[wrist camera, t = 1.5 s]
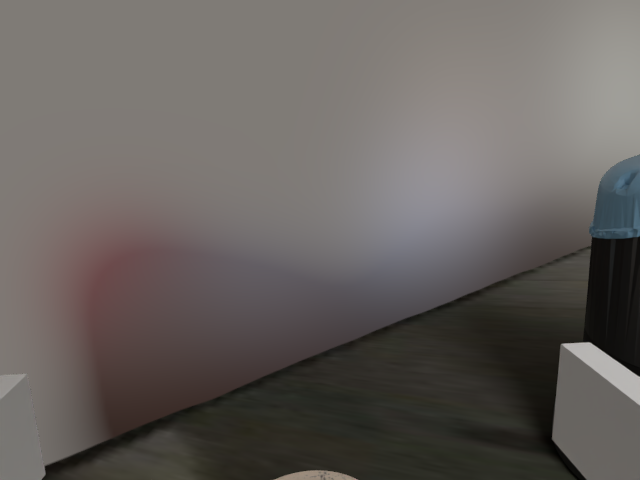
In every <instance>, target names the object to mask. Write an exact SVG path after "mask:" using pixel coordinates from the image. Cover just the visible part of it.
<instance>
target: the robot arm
mask: <svg viewBox="0 0 640 480" xmlns="http://www.w3.org/2000/svg"><path fill="white" fill-rule="evenodd" d="M589 233H590V234H591V236H592V244H591V256H590V268H589V280H588V293H587V305H586V315H585V327H584V337H583V343H569V344H561V348H560V359H559V370H558V380H557V391H556V399H555V402H554V406H553V416H552V440H553V442H554V445H555V448H556V450H557V452H558V454H559V455H560V457H561V459H562V460H563V461H564V463H565V464H566V465H567V467H568V468H569V469H570V470H571V471H572V472H573V473H574V474H575V475H576V476H577V477H578V478H579V479H580V480H640V155H637V156H634V157H631V158H628V159H626V160H623V161H621V162H619V163H617V164H616V165H614V166H613V167H611V168H610V169H609V170H608V171H607V172H606V173H605V175H604V176H603V177H602V179H601V181H600V184H599V188H598V194H597V200H596V207H595V213H594V219H593V222H592V223H591V225H590V229H589ZM44 475H45V468H44V463H43V457H42V451H41V446H40V440H39V434H38V429H37V423H36V417H35V413H34V406H33V401H32V395H31V389H30V384H29V378H28V374H14V375H0V480H42V478H43V477H44Z"/></svg>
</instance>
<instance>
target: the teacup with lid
mask: <svg viewBox="0 0 640 480" xmlns="http://www.w3.org/2000/svg"><path fill="white" fill-rule="evenodd" d="M275 480H358V479H355V478H353V477H351V476H348V475H345V474H341V473H337V472H331V471H318V470H314V471H303V472H297V473H292V474H289V475H285V476H282V477H280V478H277V479H275Z"/></svg>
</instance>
